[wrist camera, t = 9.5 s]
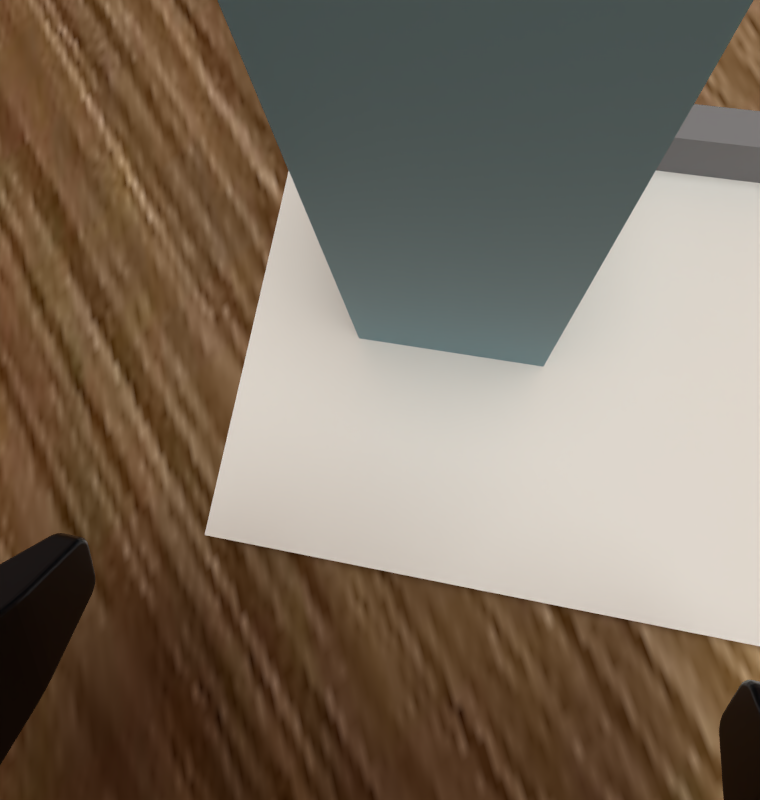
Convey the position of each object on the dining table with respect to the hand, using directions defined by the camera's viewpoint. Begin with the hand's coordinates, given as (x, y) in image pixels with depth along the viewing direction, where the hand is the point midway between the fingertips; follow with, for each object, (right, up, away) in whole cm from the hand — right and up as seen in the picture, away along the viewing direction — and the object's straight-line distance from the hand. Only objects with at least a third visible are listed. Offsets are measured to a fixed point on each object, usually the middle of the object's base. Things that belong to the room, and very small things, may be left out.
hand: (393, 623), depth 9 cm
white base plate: (+5, +4, +10) cm, 12 cm away
